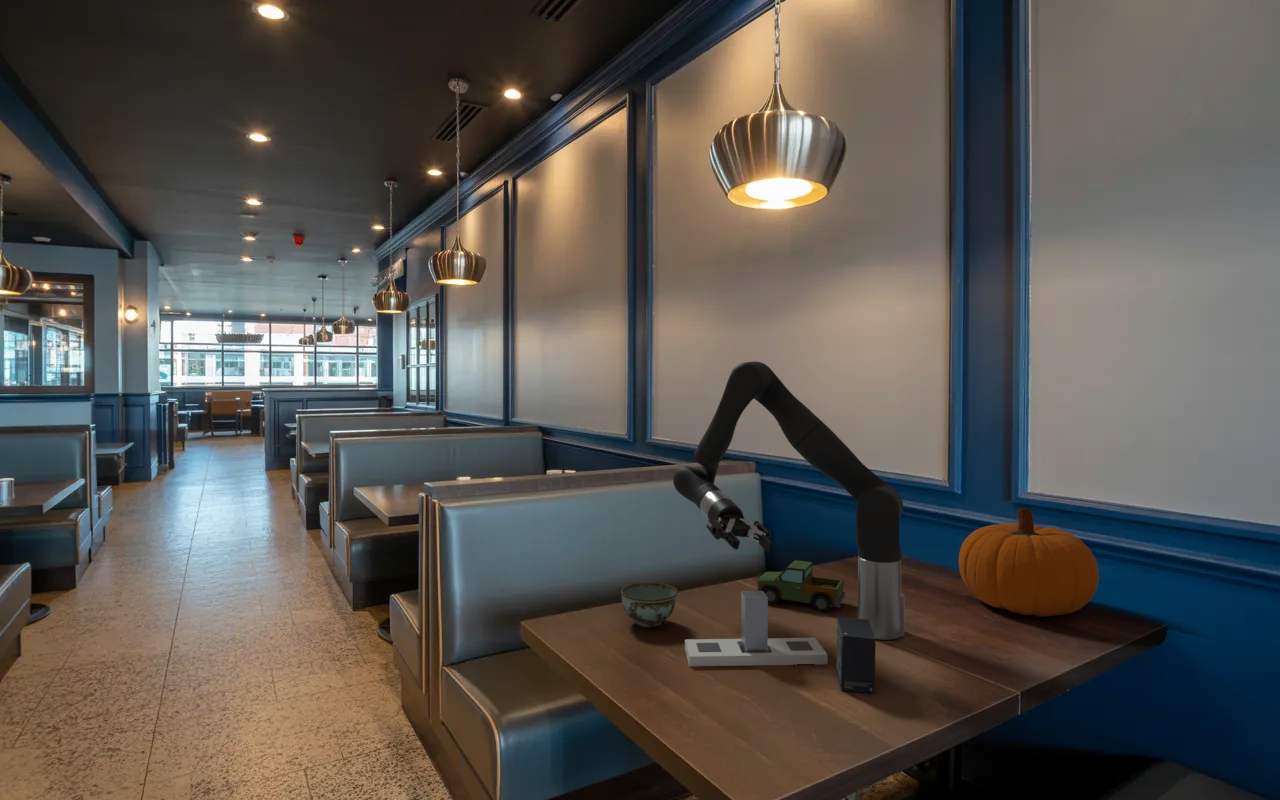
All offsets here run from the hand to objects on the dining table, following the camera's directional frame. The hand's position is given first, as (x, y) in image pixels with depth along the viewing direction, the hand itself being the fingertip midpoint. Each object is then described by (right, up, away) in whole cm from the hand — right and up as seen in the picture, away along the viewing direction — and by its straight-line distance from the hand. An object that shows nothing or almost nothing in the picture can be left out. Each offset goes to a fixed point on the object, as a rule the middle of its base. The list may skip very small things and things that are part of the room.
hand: (754, 547), depth 148 cm
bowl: (-23, -21, +11) cm, 33 cm away
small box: (+16, -21, -20) cm, 33 cm away
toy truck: (+17, -20, +26) cm, 37 cm away
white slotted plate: (-1, -21, -9) cm, 23 cm away
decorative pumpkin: (+73, -20, +23) cm, 79 cm away
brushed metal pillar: (-1, -21, -8) cm, 23 cm away
